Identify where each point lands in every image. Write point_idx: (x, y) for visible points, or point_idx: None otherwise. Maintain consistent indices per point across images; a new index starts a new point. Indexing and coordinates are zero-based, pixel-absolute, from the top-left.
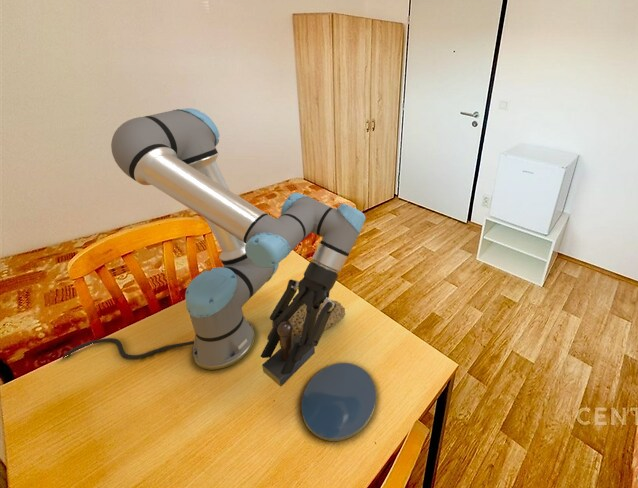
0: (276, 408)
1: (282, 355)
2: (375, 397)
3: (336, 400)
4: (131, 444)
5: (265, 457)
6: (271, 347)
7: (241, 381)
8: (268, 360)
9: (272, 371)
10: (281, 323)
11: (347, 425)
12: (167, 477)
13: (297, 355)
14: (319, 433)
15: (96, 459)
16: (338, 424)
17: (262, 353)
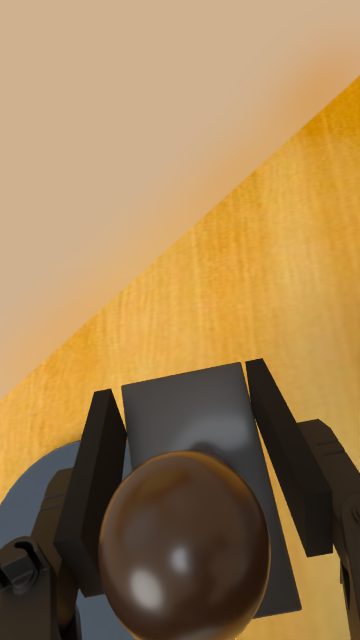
0: None
1: (198, 449)
2: None
3: None
4: (338, 166)
5: (128, 336)
6: (262, 419)
7: (344, 368)
8: (241, 393)
9: (177, 380)
10: (216, 538)
11: (18, 520)
12: (230, 200)
13: (57, 494)
14: (62, 449)
15: (346, 126)
16: (38, 503)
17: (263, 368)
